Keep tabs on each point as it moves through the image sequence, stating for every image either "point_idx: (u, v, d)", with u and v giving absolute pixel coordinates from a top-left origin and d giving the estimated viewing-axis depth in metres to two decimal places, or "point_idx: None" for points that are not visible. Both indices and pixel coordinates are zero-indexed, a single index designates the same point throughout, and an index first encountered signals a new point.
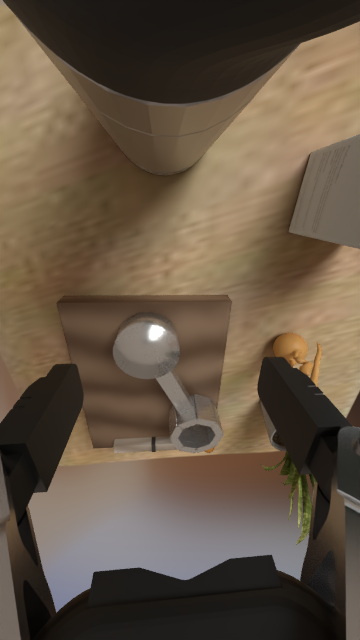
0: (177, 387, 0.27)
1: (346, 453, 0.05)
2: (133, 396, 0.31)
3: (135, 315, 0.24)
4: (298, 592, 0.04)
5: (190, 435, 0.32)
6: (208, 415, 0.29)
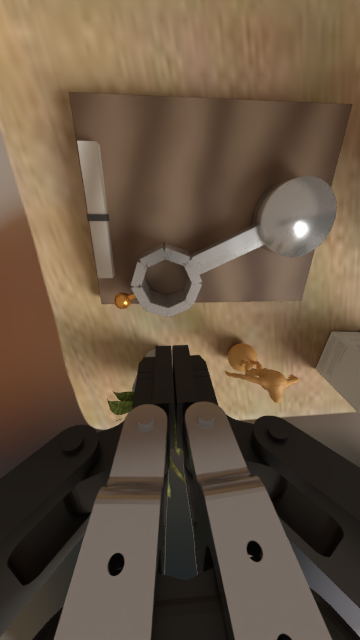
0: (234, 255, 0.23)
1: (194, 434, 0.06)
2: (196, 191, 0.23)
3: None
4: (194, 632, 0.03)
5: None
6: None
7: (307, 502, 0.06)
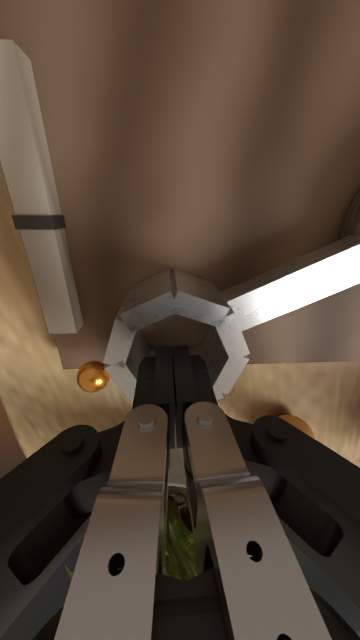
0: (311, 296, 0.12)
1: (194, 434, 0.06)
2: (238, 170, 0.11)
3: None
4: (194, 632, 0.03)
5: None
6: None
7: (307, 502, 0.06)
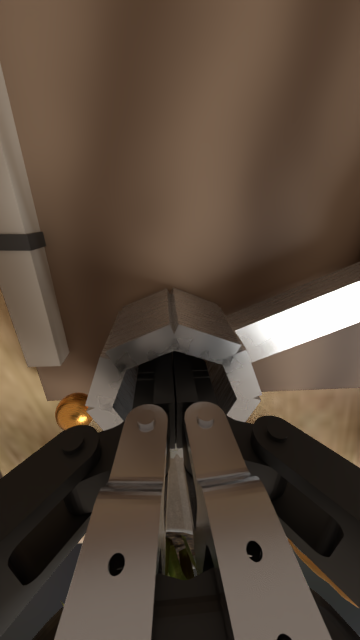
0: (331, 325, 0.10)
1: (194, 434, 0.06)
2: (249, 181, 0.10)
3: None
4: (193, 632, 0.03)
5: None
6: None
7: (307, 502, 0.06)
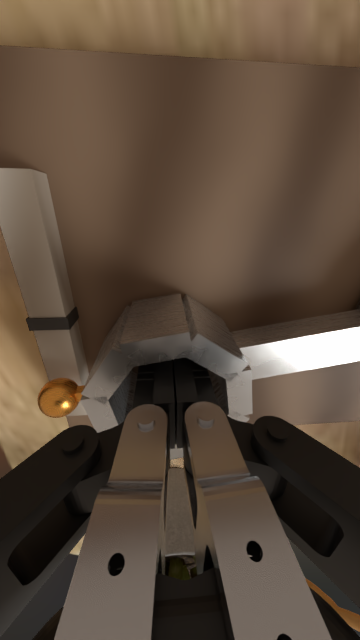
0: (322, 361, 0.11)
1: (194, 434, 0.06)
2: (254, 264, 0.11)
3: None
4: (194, 632, 0.03)
5: None
6: None
7: (307, 502, 0.06)
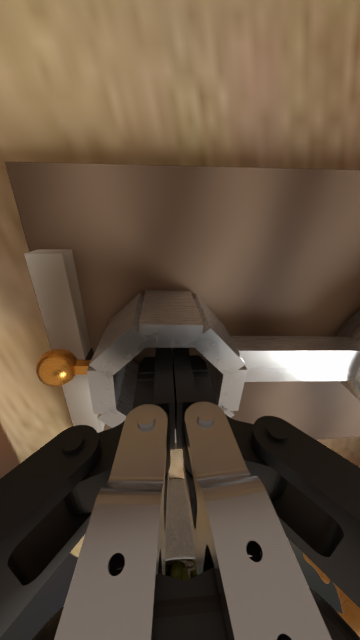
0: (302, 376, 0.12)
1: (194, 434, 0.06)
2: (242, 312, 0.13)
3: None
4: (194, 632, 0.03)
5: None
6: None
7: (307, 502, 0.06)
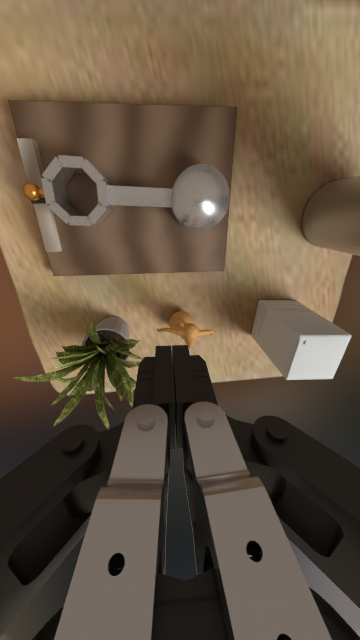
0: (145, 203, 0.27)
1: (194, 434, 0.06)
2: (121, 178, 0.28)
3: None
4: (193, 632, 0.03)
5: (61, 178, 0.25)
6: (100, 219, 0.26)
7: (307, 502, 0.06)
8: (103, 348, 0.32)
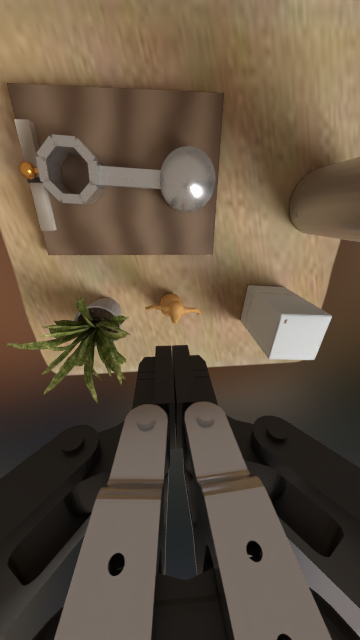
0: (135, 184, 0.28)
1: (194, 434, 0.06)
2: (113, 161, 0.29)
3: None
4: (194, 632, 0.03)
5: (55, 158, 0.27)
6: (91, 197, 0.28)
7: (307, 502, 0.06)
8: (94, 324, 0.33)
